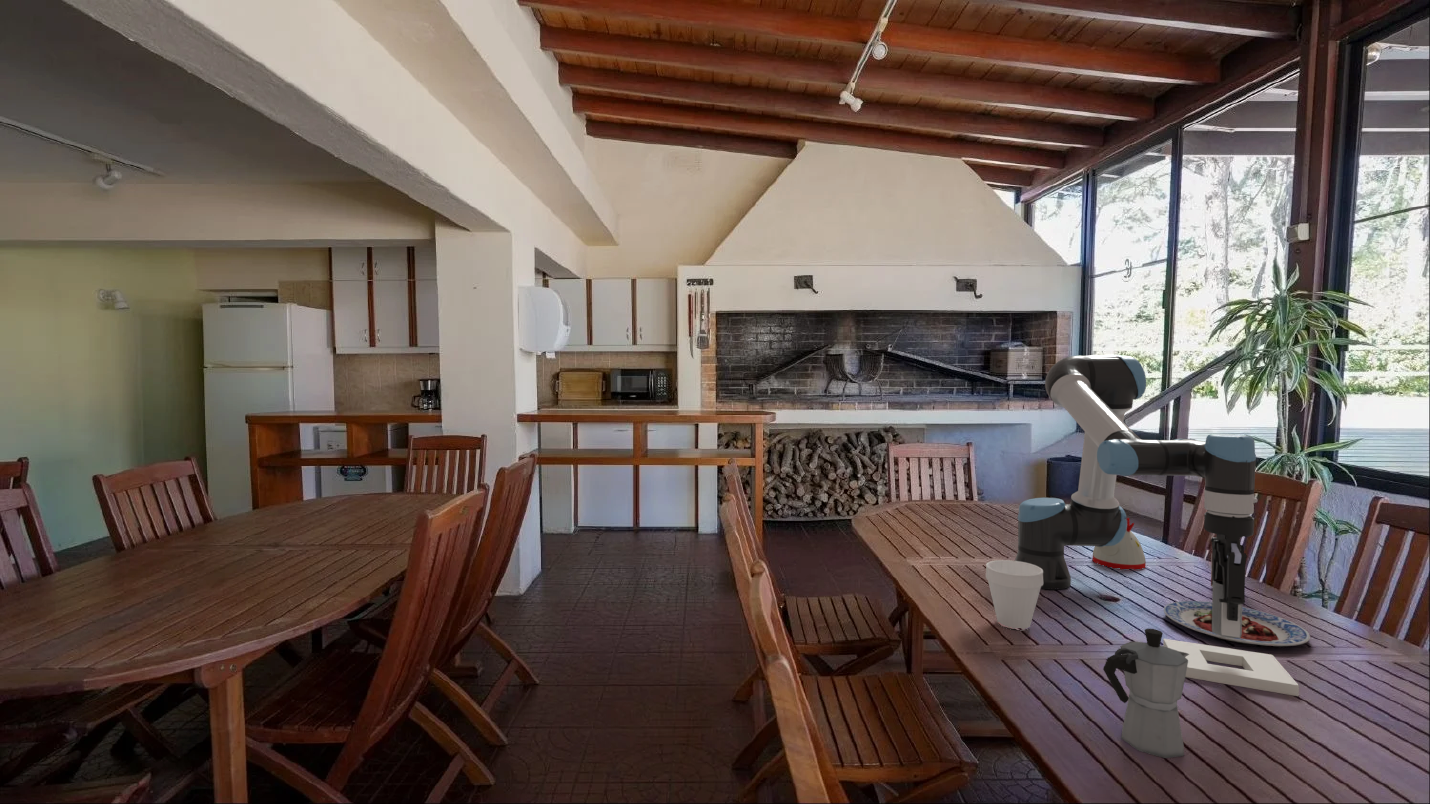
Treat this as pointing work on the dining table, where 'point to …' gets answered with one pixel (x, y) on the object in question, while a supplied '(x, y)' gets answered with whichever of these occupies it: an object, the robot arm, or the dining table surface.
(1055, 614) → the dining table surface
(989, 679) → the dining table surface
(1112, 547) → the kitchen timer
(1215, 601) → the grey cylinder
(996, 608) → the cup
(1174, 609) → the ceramic plate
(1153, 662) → the coffee maker
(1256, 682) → the notched board
